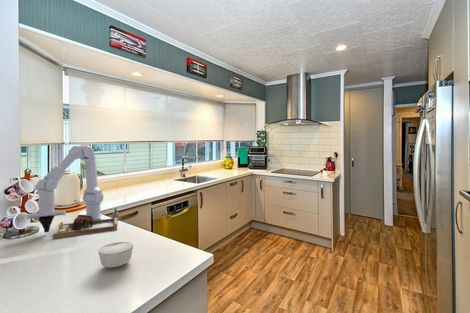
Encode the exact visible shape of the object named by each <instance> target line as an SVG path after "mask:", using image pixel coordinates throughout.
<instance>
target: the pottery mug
mask: <svg viewBox="0 0 470 313" xmlns="http://www.w3.org/2000/svg"><path fill="white" fill-rule="evenodd" d="M93 221H94V220H93V217H91V216H88V215H86V214H78V215H77V216H76V217H75V219H73V222H72V223H73V226H72V227H70V230H71V231H78V230H85V229H89V228H88V227H89V226H90V227H93V226H94V224H93ZM89 223H91V225H89Z"/></svg>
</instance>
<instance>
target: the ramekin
mask: <svg viewBox="0 0 470 313" xmlns="http://www.w3.org/2000/svg"><path fill="white" fill-rule="evenodd" d="M133 249H134V243H132V242H131V241H117V242H111V243H109V244H105V245H103V246H101V247H100V248H99V249H98V251H97V254H98V255H99V256H98V257H99V261H100V262H99V263H100V264H101V265H102V266H103V268H116V267H121V266H123V265H125V264H127V263H129V261H130V260H131V259H132V255H133Z"/></svg>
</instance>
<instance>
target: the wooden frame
mask: <svg viewBox="0 0 470 313" xmlns="http://www.w3.org/2000/svg"><path fill="white" fill-rule="evenodd" d="M109 221H111V222H113V223H114V225H109V226H99V227H93V228H87V229H81V230H78V231H74V230H71V231H67V232H63V233H57V232H55V233H53V234H52V239H61V238H68V237H74V236H82V235H88V234H96V233H102V232H109V231H111V232H112V231H116V229H117V230H118V221H119V211H118V212H117V207H115V208H114V212H112V218H106V219H96V220H93V225H96V224H97V223H98V224H103V223H102V222H105V223H109ZM73 223H74V222H72V223H63V225H69V229H71V227H72V226H73ZM98 224H97V225H98ZM88 226H91V223H89V225H88Z"/></svg>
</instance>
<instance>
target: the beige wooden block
mask: <svg viewBox="0 0 470 313" xmlns="http://www.w3.org/2000/svg"><path fill="white" fill-rule="evenodd" d="M63 224H64V222H63V221H62V222H60V223H59V224H58V230H57V232H56V233H63V232H69V229H70V228H69V225H63Z"/></svg>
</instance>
